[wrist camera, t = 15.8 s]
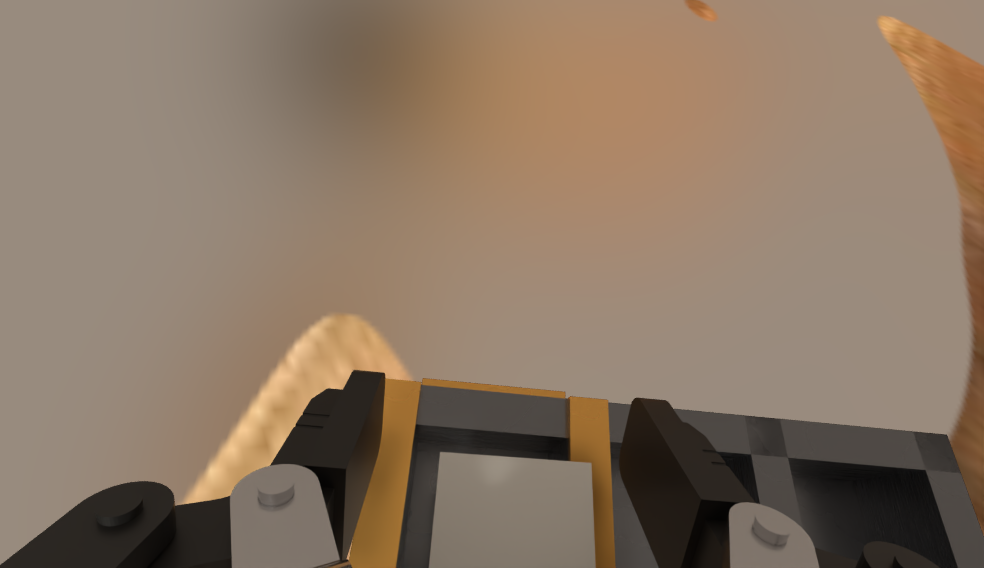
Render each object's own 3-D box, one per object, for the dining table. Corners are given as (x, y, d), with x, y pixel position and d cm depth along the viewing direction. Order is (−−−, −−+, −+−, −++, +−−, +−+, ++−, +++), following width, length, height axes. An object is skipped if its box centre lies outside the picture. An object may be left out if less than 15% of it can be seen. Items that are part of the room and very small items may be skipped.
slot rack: (856, 445, 20) (951, 423, 16) (941, 752, 15) (1097, 817, 12) (392, 402, 19) (382, 368, 15) (340, 721, 14) (309, 784, 11)
